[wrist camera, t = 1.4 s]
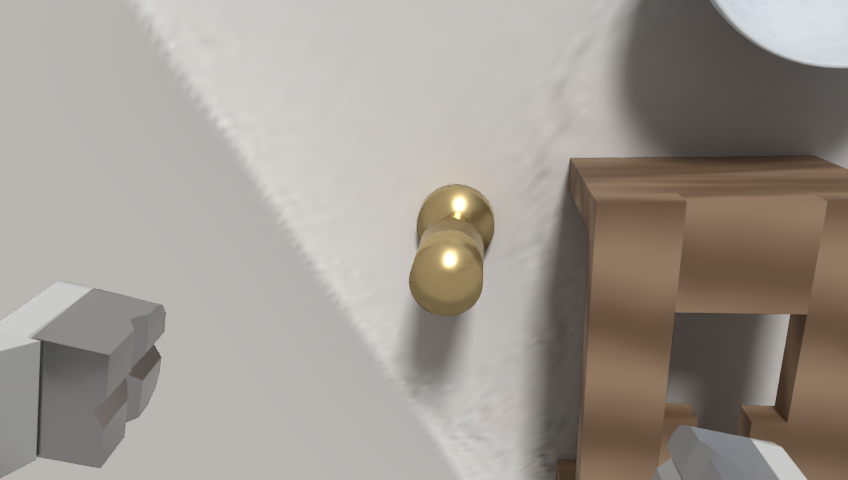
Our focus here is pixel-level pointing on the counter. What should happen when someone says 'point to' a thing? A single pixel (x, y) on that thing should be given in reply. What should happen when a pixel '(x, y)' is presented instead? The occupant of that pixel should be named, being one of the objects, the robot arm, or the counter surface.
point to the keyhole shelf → (710, 300)
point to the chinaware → (793, 28)
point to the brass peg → (451, 249)
